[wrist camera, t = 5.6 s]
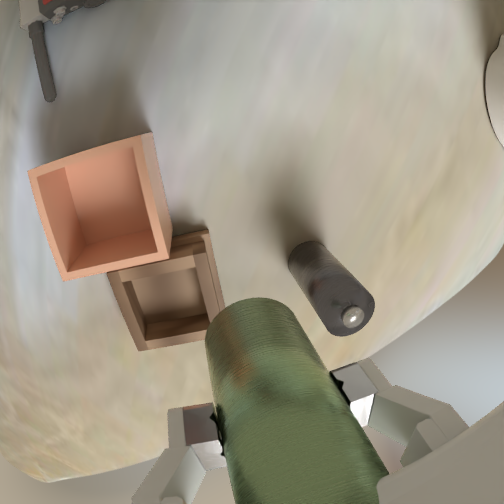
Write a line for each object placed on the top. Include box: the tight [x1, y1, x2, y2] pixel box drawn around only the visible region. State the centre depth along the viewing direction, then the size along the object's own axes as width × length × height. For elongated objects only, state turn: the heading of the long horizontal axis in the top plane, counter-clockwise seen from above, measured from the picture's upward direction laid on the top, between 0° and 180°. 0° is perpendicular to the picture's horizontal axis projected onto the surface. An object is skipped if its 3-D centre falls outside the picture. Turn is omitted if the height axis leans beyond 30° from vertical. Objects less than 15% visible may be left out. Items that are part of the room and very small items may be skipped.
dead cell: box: [288, 241, 375, 336], centre depth 25 cm, size 4×4×10 cm
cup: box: [28, 132, 173, 281], centre depth 21 cm, size 8×8×6 cm
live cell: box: [205, 298, 389, 504], centre depth 9 cm, size 4×4×10 cm
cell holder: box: [107, 230, 225, 351], centre depth 26 cm, size 9×9×4 cm
